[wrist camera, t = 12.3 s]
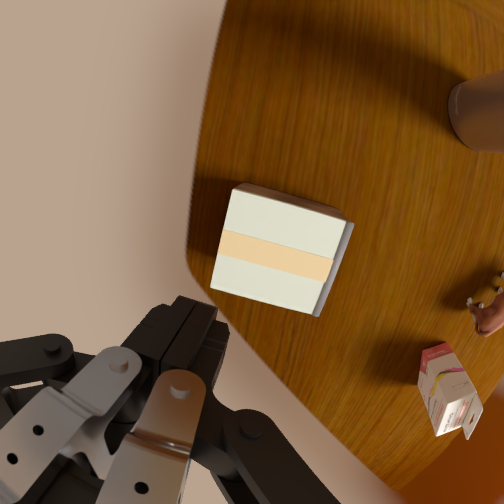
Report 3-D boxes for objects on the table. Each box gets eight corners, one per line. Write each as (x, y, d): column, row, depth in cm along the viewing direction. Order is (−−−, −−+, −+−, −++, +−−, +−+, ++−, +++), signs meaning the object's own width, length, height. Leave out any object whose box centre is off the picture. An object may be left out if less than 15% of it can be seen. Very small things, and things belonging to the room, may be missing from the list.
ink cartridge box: (420, 349, 36) (454, 420, 22) (447, 340, 35) (486, 405, 21) (415, 386, 38) (440, 453, 25) (440, 378, 37) (469, 440, 24)
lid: (353, 222, 26) (355, 225, 25) (318, 312, 29) (319, 317, 28) (233, 188, 26) (232, 189, 25) (211, 284, 29) (209, 288, 28)
